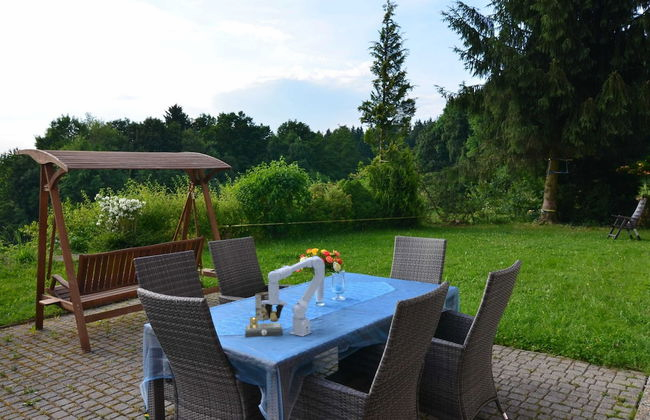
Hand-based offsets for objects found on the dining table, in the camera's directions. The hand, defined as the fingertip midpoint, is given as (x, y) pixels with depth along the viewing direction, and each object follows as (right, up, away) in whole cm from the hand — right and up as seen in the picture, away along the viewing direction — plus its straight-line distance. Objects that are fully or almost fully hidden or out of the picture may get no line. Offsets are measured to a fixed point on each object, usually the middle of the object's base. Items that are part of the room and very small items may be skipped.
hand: (274, 318), depth 260 cm
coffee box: (-10, -9, +35) cm, 37 cm away
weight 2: (0, -1, 0) cm, 1 cm away
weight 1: (-12, -6, +6) cm, 15 cm away
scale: (-7, -9, +6) cm, 13 cm away
